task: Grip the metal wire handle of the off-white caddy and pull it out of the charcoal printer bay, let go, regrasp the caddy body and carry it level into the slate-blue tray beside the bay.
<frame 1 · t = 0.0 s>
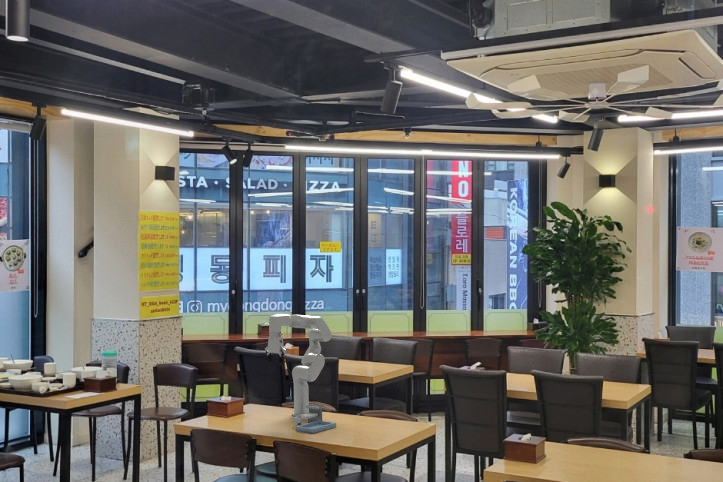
hand: (275, 362, 504), 37 cm above the table, tool pointing down, fingers open, 9 cm apart
tray: (316, 428, 477), on the table
printer bay: (309, 423, 492), on the table
caddy: (309, 424, 492), on the table
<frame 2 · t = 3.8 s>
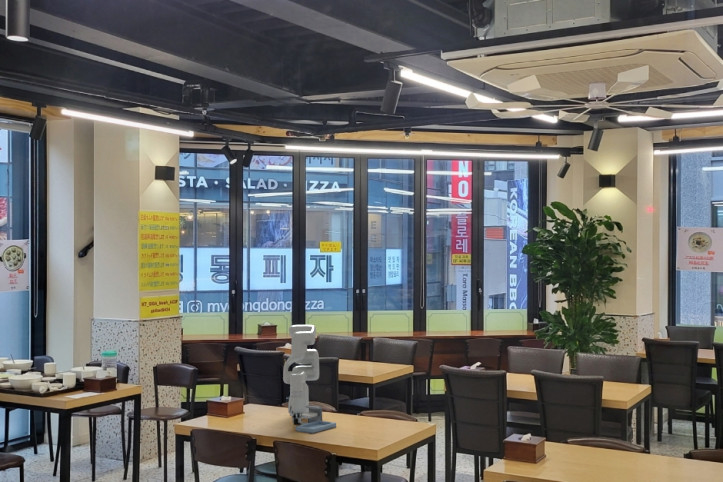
hand: (296, 424, 483), 2 cm above the table, tool pointing down, fingers closed
caddy: (309, 423, 492), on the table, touching gripper
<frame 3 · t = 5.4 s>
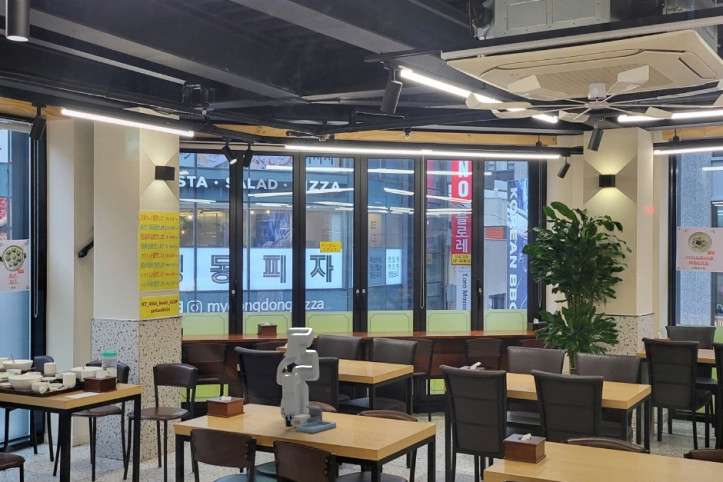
hand: (289, 426, 478), 2 cm above the table, tool pointing down, fingers closed
caddy: (301, 425, 487), on the table, touching gripper
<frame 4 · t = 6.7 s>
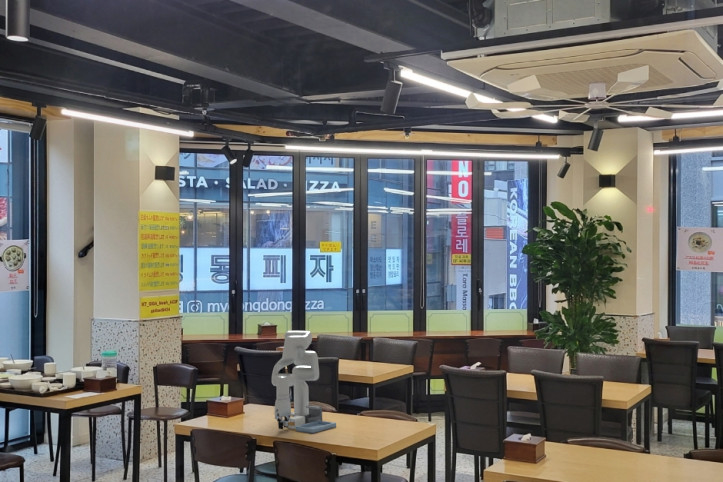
hand: (283, 427, 474), 2 cm above the table, tool pointing down, fingers open, 3 cm apart
caddy: (296, 427, 483), on the table
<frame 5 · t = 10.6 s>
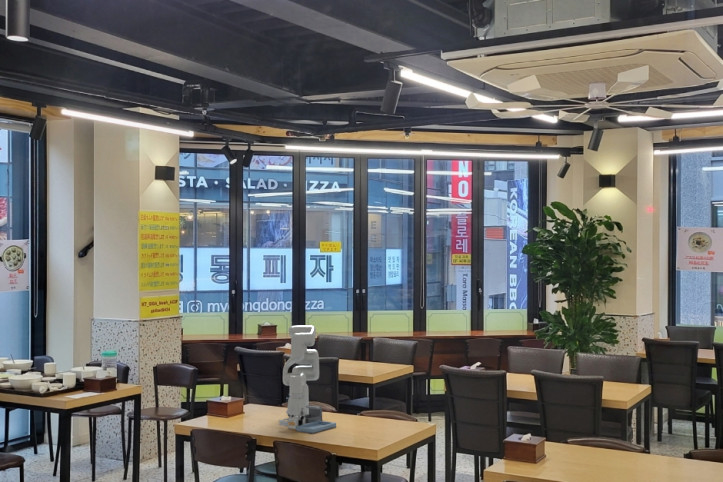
hand: (296, 425, 483), 1 cm above the table, tool pointing down, fingers closed on caddy, 6 cm apart
caddy: (296, 427, 483), on the table, touching gripper
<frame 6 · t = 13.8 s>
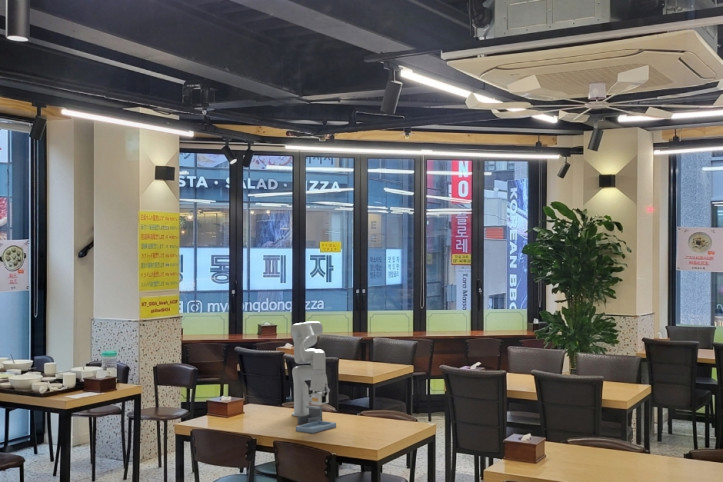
hand: (319, 401, 481), 15 cm above the table, tool pointing down, fingers closed on caddy, 6 cm apart
caddy: (319, 403, 481), point 14 cm above the table, touching gripper
when the fingers open (3 cm above the table, at t = 16.6 s): caddy drops 1 cm, resting on tray.
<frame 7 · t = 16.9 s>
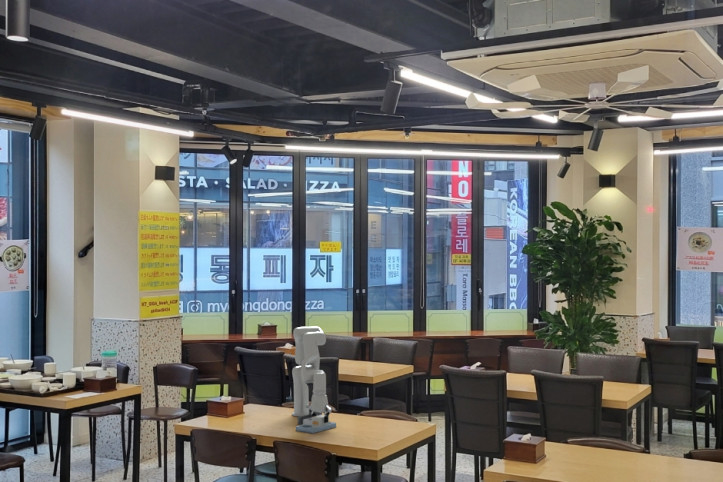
hand: (320, 421, 480), 4 cm above the table, tool pointing down, fingers open, 9 cm apart
caddy: (320, 426, 481), point 1 cm above the table, touching tray
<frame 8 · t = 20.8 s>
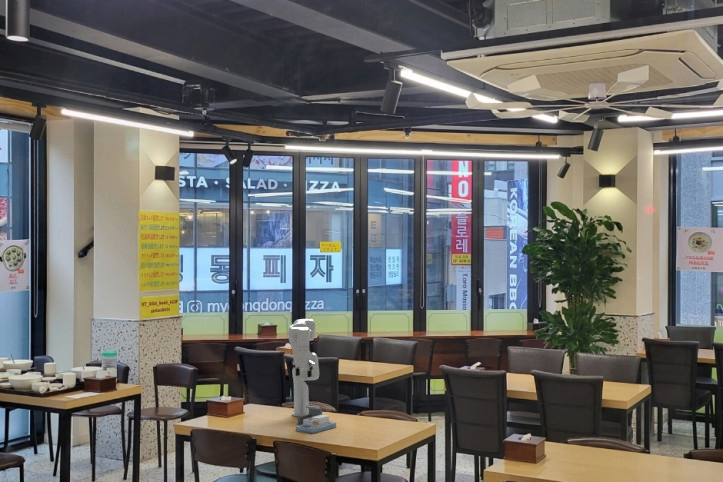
hand: (303, 376, 498), 28 cm above the table, tool pointing down, fingers open, 9 cm apart
nothing on the table moved.
at the end: caddy 0.4 cm from the target spot on the tray, point 0.6 cm above the tray's base; caddy tilted 0°; the gripper is holding nothing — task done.
